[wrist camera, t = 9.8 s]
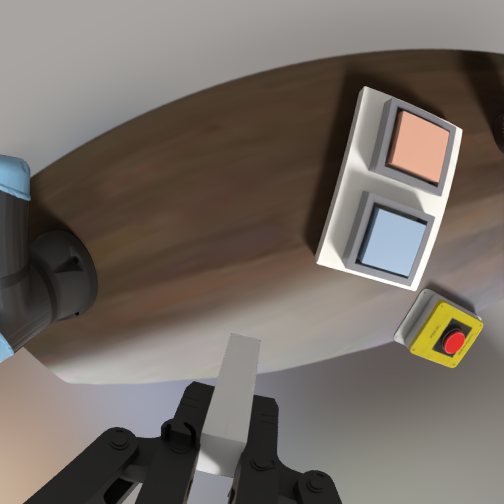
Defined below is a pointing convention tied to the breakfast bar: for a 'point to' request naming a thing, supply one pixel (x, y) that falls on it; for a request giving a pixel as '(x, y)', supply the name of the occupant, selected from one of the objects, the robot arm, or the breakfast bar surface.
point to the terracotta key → (417, 147)
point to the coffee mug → (499, 131)
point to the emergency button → (438, 329)
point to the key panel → (383, 189)
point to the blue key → (391, 241)
